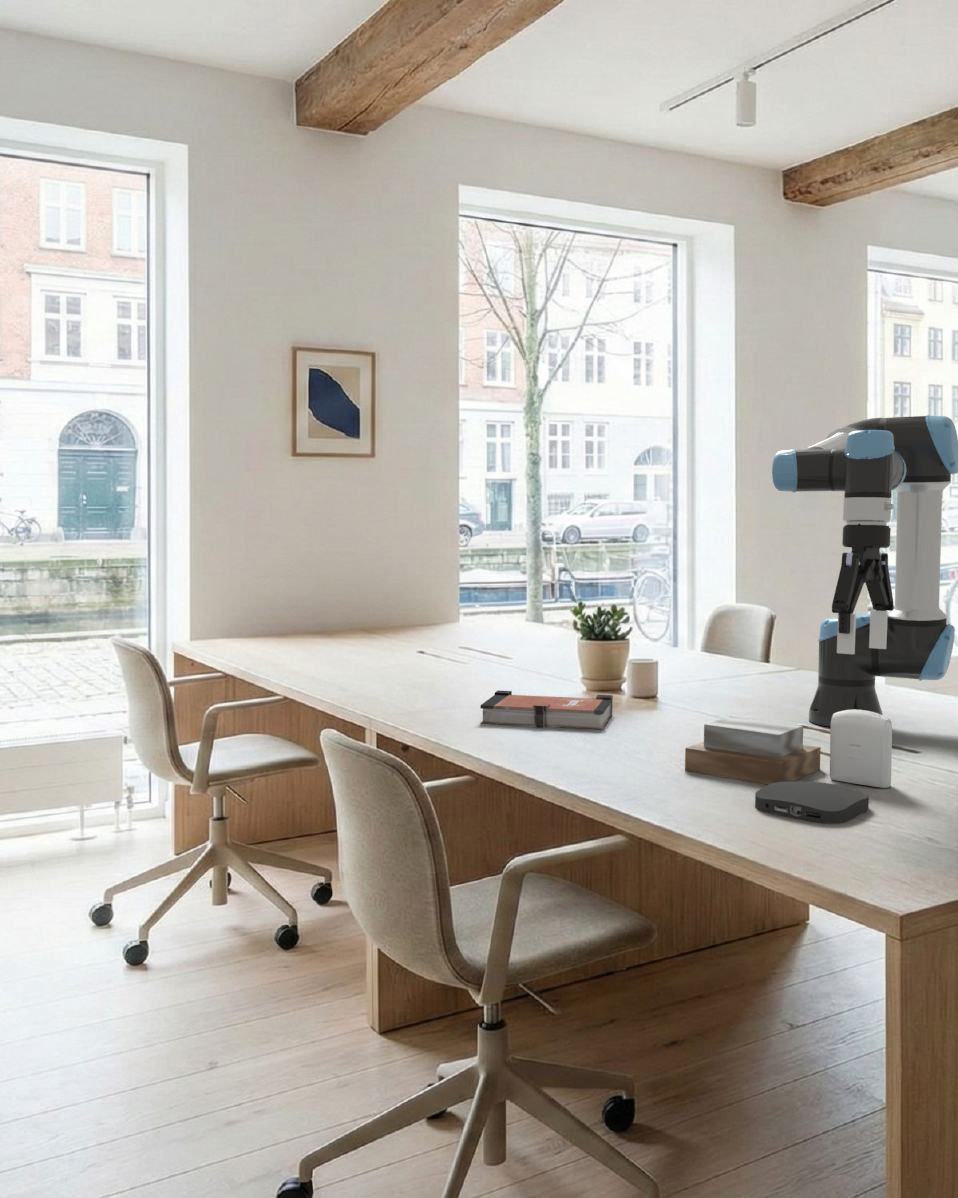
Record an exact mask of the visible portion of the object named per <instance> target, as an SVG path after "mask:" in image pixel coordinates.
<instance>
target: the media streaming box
mask: <svg viewBox="0 0 958 1198" xmlns="http://www.w3.org/2000/svg"><path fill="white" fill-rule="evenodd" d="M754 795H755V798H754V799H755V800H754V807H755V808H756V809H757V810H759V811H760V812H764V813H767V814H772V815H777V816H782V817H787V818H792V819H795V820H801V821H807V822H813V823H818V824H828V825H829V824H841V823H846V822H848V821H851V820H853V819H855V818H857V817H858V816H861V815H862V814H865V813H866V812H868V811H869V808H870V807H869V800H870V796H869V795H868V794H866V793H864V792H862V791H859V790H857V789H854V788H850V787H847V786H843V785H839V784H835V783H828V782H822V781H821V782H820V781H793V782H776V783H772V784H769V785H768V784H766V785H765V786H763V787H762V788H760V789H758V790H757V791H756V792H755V794H754Z"/></svg>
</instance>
